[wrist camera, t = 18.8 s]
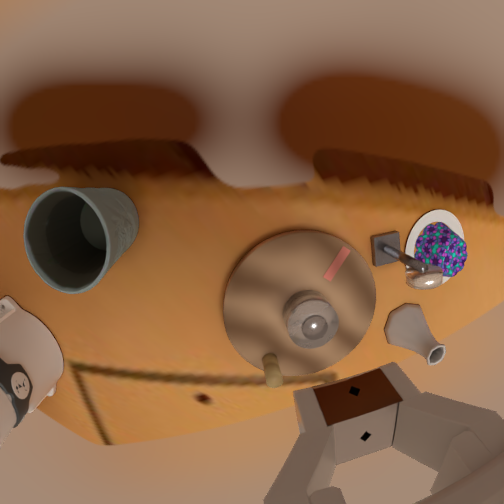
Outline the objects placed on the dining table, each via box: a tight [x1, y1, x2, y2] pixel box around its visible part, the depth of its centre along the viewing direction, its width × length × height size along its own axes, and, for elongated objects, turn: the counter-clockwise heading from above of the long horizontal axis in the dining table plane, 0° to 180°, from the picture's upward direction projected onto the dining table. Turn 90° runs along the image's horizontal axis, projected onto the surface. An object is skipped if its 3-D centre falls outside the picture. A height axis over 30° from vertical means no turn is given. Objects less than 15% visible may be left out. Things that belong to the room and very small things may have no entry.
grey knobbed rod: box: [371, 231, 443, 289], centre depth 34 cm, size 4×4×12 cm
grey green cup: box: [24, 187, 139, 294], centre depth 31 cm, size 10×10×12 cm
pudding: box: [405, 210, 467, 284], centre depth 39 cm, size 12×12×5 cm
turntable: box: [223, 230, 376, 388], centre depth 37 cm, size 20×20×7 cm
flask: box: [384, 304, 446, 365], centre depth 39 cm, size 7×7×10 cm
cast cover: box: [283, 290, 339, 349], centre depth 36 cm, size 6×6×4 cm
